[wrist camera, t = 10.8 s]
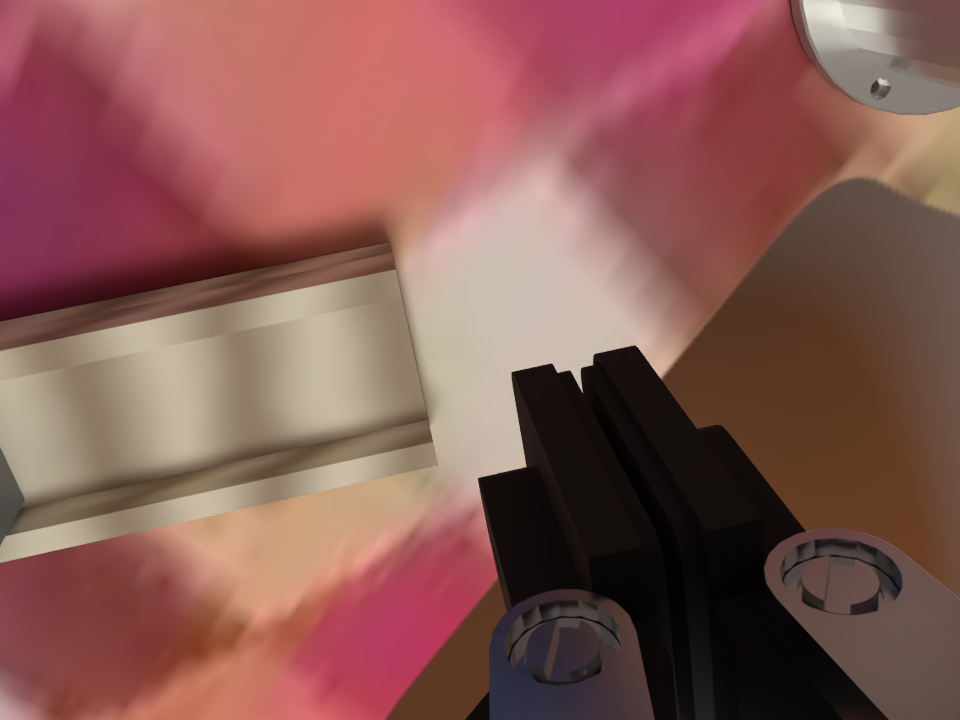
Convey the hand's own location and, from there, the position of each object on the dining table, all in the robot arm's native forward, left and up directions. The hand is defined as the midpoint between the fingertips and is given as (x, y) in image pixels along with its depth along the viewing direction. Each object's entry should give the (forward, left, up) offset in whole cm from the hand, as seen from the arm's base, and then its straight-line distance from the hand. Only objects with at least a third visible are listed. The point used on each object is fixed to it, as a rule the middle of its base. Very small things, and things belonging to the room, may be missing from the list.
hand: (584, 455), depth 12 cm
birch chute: (+15, +10, -27) cm, 32 cm away
